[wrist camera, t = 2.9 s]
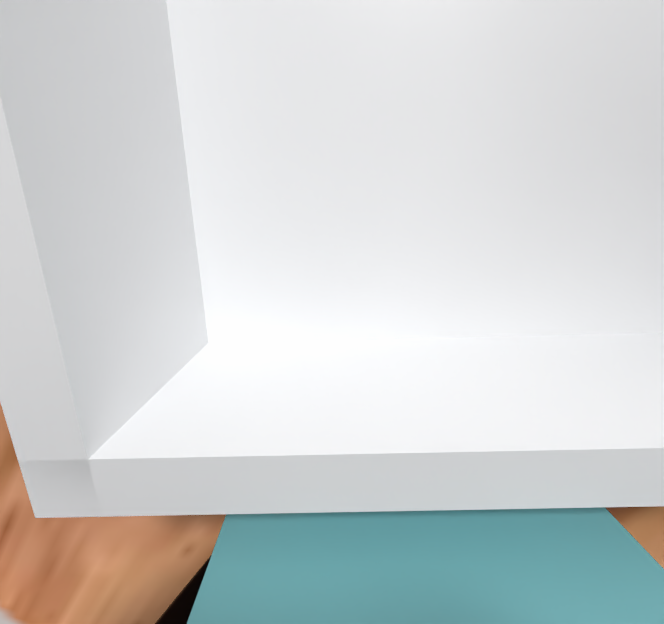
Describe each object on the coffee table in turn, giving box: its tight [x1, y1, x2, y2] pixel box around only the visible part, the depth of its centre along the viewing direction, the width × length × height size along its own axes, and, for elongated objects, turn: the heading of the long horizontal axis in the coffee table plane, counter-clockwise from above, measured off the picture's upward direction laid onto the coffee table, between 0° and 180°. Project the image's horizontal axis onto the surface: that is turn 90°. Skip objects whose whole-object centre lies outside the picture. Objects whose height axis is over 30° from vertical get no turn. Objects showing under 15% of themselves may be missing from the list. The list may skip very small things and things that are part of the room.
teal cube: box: [187, 507, 664, 624], centre depth 6 cm, size 5×5×5 cm
